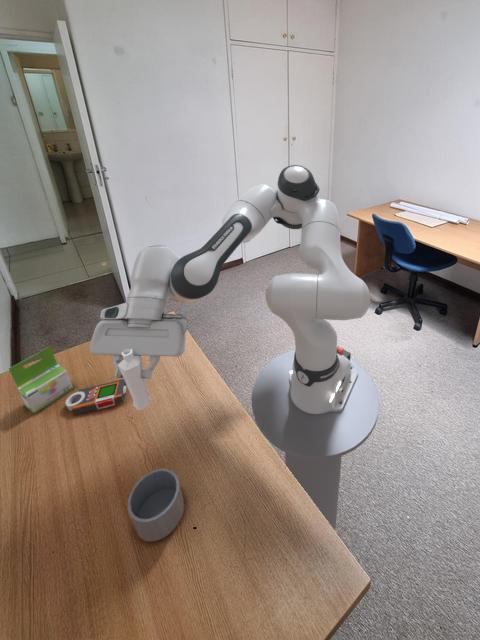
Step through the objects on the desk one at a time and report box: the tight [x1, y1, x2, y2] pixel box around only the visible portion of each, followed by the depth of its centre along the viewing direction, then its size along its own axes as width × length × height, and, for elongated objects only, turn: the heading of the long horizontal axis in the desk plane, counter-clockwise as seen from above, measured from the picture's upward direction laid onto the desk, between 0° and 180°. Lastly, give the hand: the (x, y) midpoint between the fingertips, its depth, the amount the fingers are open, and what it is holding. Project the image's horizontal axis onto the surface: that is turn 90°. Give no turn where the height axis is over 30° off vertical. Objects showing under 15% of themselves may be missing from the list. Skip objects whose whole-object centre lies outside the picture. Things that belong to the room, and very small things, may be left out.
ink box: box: [8, 345, 74, 415], centre depth 90 cm, size 10×5×14 cm, turn 148°
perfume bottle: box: [118, 349, 152, 411], centre depth 71 cm, size 5×4×15 cm
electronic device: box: [64, 378, 128, 416], centre depth 92 cm, size 7×3×15 cm
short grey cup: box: [127, 468, 185, 542], centre depth 66 cm, size 9×9×7 cm
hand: (132, 378), depth 70 cm, fingers closed on perfume bottle, 4 cm apart
